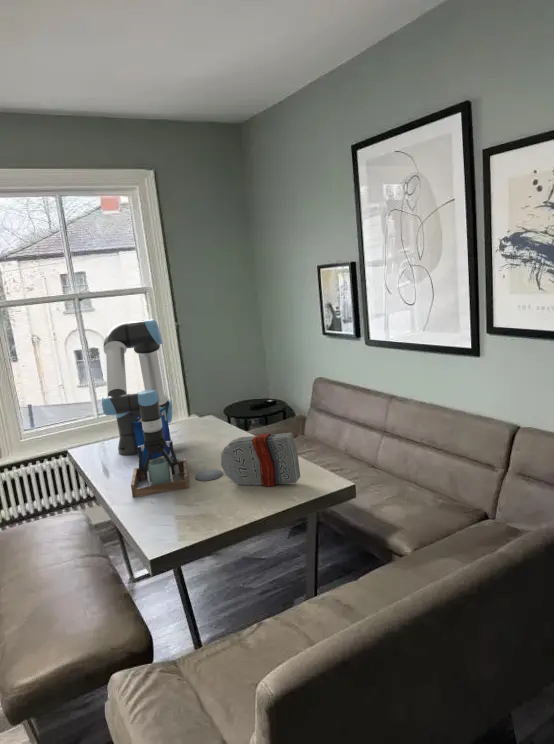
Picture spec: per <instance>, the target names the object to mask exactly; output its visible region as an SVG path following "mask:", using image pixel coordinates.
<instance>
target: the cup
mask: <svg viewBox="0 0 554 744" xmlns="http://www.w3.org/2000/svg"><path fill="white" fill-rule="evenodd" d="M148 469H149V475H150V479H151V485H158V484H164V483H170V482H171V477H170V471H169V463H168V462H167V460H166V459H165V458H156V459H153V460H151V461H149V464H148Z"/></svg>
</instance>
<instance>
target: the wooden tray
mask: <svg viewBox="0 0 554 744" xmlns="http://www.w3.org/2000/svg"><path fill="white" fill-rule="evenodd" d="M177 467H178V469H177V470H178V474H183V477H184V480H177V481H176V480H175V481H173V482H171V481H169V483H164V484H158V485H153V484H151V486H149V485H147V486H146V485H145V486H142V487H138V486H139V482H140V481H143V480H146V479H145V476H144V472H143V471H139V467H135V468H133V472H132V477H131V482H130V488H131V495H132V498H137V497H138V498H139V497H143V496H149V495H155V494H161V493H166V492H167V493H168V492H171V491H172V492H173V491H178V490H183V489H189V488H190V482H189V480H190V479H189V471H188V470H189V469H188V463H187V459H183V460H178V465H177Z"/></svg>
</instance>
